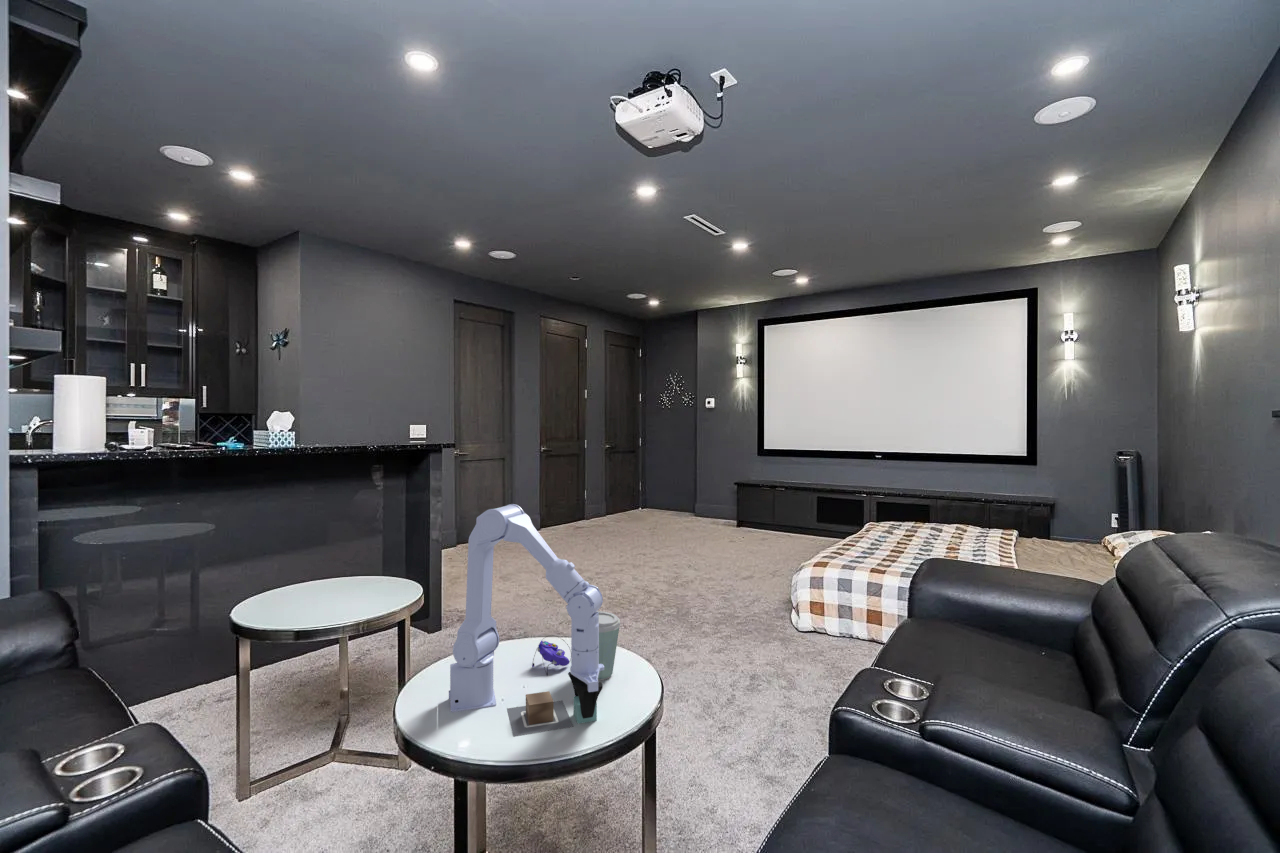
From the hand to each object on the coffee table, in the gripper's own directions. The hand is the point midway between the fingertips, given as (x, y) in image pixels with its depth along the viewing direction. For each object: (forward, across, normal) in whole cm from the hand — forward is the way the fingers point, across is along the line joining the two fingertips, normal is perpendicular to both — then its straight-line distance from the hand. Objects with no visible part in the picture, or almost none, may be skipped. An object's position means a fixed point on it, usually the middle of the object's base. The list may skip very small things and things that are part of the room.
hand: (585, 711), depth 122 cm
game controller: (+2, +28, +3) cm, 28 cm away
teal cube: (+1, 0, 0) cm, 1 cm away
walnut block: (+1, +3, +9) cm, 10 cm away
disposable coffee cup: (+2, +19, -8) cm, 21 cm away
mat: (+1, +3, +9) cm, 10 cm away
